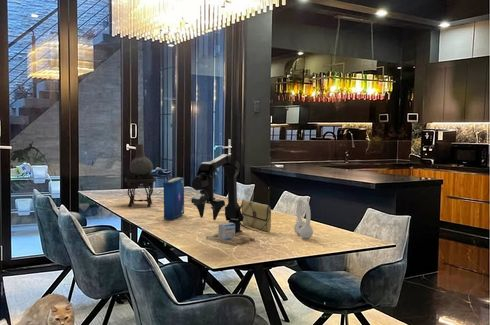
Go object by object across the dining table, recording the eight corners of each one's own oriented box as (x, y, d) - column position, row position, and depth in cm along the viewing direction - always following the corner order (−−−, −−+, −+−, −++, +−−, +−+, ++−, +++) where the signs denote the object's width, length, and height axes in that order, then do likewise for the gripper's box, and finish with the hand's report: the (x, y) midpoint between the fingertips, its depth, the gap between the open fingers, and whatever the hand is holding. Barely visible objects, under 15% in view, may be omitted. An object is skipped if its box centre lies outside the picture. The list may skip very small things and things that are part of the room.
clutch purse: (234, 224, 283) (234, 199, 282) (244, 223, 287) (244, 198, 286) (263, 234, 258) (263, 207, 257) (273, 232, 262) (273, 206, 261)
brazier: (149, 208, 338) (149, 145, 335) (119, 206, 341) (119, 144, 338) (160, 203, 360) (160, 144, 357) (132, 202, 364) (131, 143, 360)
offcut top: (243, 238, 240) (243, 234, 240) (249, 240, 236) (249, 236, 236) (232, 240, 236) (232, 236, 236) (238, 242, 232) (238, 238, 232)
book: (173, 220, 292) (173, 180, 290) (162, 220, 294) (162, 180, 292) (184, 214, 313) (184, 177, 311) (174, 214, 315) (174, 176, 313)
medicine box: (224, 242, 238) (224, 225, 238) (218, 240, 241) (218, 224, 241) (235, 239, 244) (235, 223, 243) (229, 238, 247) (229, 222, 246)
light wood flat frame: (225, 235, 253) (225, 231, 253) (254, 242, 239) (255, 238, 239) (206, 239, 243) (206, 236, 243) (235, 247, 229) (235, 243, 229)
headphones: (304, 232, 262) (305, 197, 261) (314, 240, 244) (315, 202, 243) (292, 233, 261) (293, 197, 260) (301, 241, 243) (302, 202, 242)
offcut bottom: (241, 242, 241) (241, 238, 240) (248, 244, 237) (249, 240, 237) (232, 245, 235) (232, 241, 235) (239, 246, 232) (239, 242, 232)
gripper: (183, 187, 235) (183, 218, 236) (209, 191, 223) (209, 224, 224) (199, 185, 243) (199, 215, 245) (225, 188, 231) (225, 220, 232)
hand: (208, 218), depth 236 cm, fingers open, 9 cm apart
